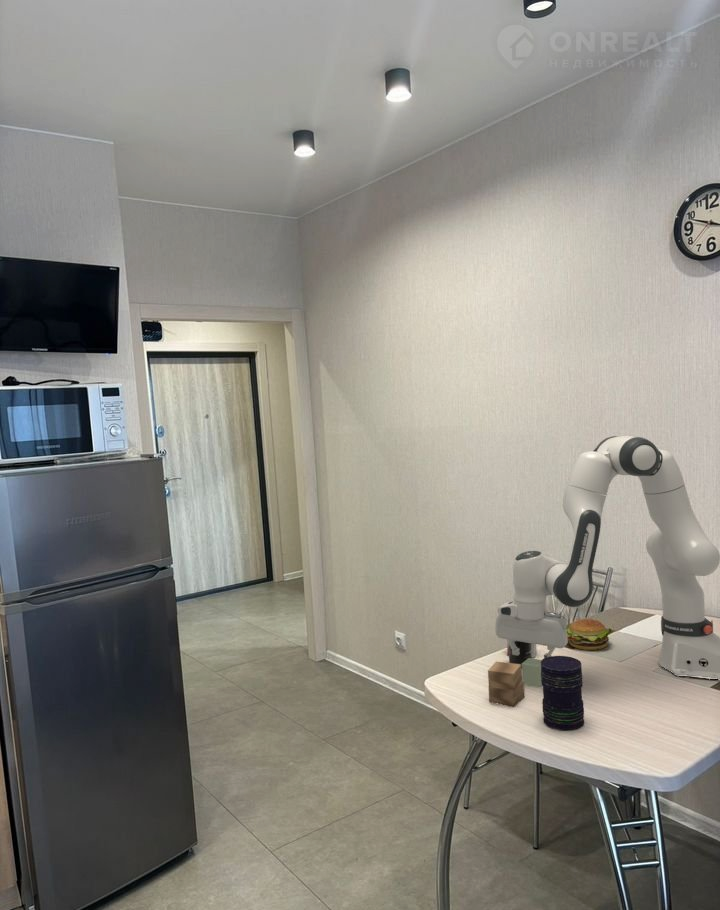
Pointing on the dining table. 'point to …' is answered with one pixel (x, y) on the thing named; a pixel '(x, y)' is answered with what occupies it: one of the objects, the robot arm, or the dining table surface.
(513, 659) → the supplement bottle
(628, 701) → the dining table surface
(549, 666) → the dark blue ribbed cylinder
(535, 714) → the dining table surface
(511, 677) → the tower top
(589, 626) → the food
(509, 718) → the dining table surface
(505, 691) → the tower base
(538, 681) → the sage block
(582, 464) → the robot arm
